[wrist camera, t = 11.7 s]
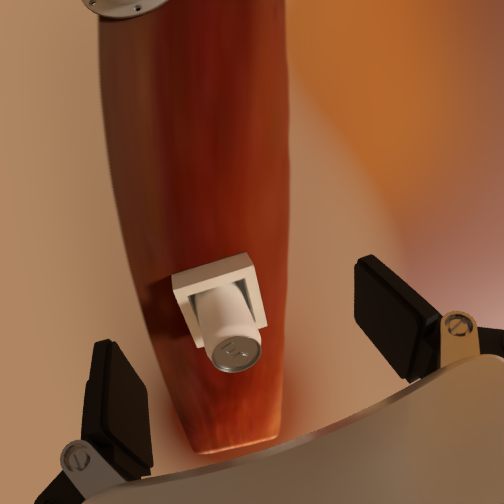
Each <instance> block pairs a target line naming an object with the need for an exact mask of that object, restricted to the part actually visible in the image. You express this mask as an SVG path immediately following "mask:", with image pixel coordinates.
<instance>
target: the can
mask: <svg viewBox="0 0 504 504" xmlns="http://www.w3.org/2000/svg"><path fill="white" fill-rule="evenodd" d="M195 304H196V309H197V314H198V319H199V324H200V329H201V333H202V338H203V342H204V346H205V350H206V353H207V355H208V357H209V358H210V360H211V361H212V363H213V365H214V366H215V367H216V368H217V369H219V370H221V371H224V372H230V373H233V372H240V371H243V370H246V369H248V368H250V367H251V366H253V365H254V364H255V363H256V362H257V361H258V360H259V358H260V356H261V352H262V349H261V337H260V334H259V331H258V329H257V327H256V324H255V322H254V320H253V318H252V315H251V313H250V311H249V308H248V306H247V304H246V302H245V299H244V297H243V295H242V293H241V290H240V288H239V286H238V285H237V284H236V283H235V282H231V283H228V284H224V285H221V286H218V287H215V288H212V289H208V290H205V291H202V292H199V293H196V294H195Z"/></svg>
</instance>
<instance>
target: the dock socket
mask: <svg viewBox="0 0 504 504" xmlns="http://www.w3.org/2000/svg"><path fill="white" fill-rule="evenodd" d="M171 276H172V287H173V292H174V295H175V297H176V299H177V302H178V304H179V307H180V309H181V311H182V314H183V316H184V318H185V321H186V323H187V325H188V328H189V330H190V332H191V334H192V337H193V339H194V341H195V343H196V346H197V348H200V347H203V346H204V342H203V338H202V333H201V329H200V324H199V319H198V314H197V309H196V304H195V294H196V293H199V292H202V291H205V290H208V289H212V288H215V287H218V286H221V285H224V284H228V283H231V282H235V283H236V284H237V285H238V286H239V288H240V290H241V293H242V295H243V297H244V299H245V302H246V304H247V306H248V308H249V311H250V313H251V315H252V318H253V320H254V322H255V324H256V327H257V329H260V328H263V327H266V326H267V322H266V317H265V313H264V308H263V304H262V300H261V295H260V291H259V287H258V282H257V278H256V273H255V269H254V265H253V263H252V261H251V260H250V258H249V256H248V254H247V253H246V252H244V253H240V254H237V255H234V256H231V257H227V258H224V259H221V260H218V261H215V262H211V263H208V264H205V265H202V266H198V267H195V268H192V269H189V270H186V271H182V272H179V273H176V274H173V275H171Z"/></svg>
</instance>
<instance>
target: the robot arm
mask: <svg viewBox="0 0 504 504" xmlns="http://www.w3.org/2000/svg"><path fill="white" fill-rule="evenodd" d="M82 1H83V3H84V4H85V6H86V7H87V8H88V9H90V10H91V11H92V12H94V13H96V14H98V15H100V16H103V17H108V18H116V19H123V18H132V17H136V16H140V15H143V14H146V13H148V12H151V11H153V10H155V9H157V8H158V7H160V6H162V5H163V4H164V3H166V2H167V1H168V0H82ZM93 3H96V4H95V5H93V6H92V4H93ZM138 8H139V9H140V11H136V9H138ZM354 281H355V282H354V288H355V289H354V317H355V320H356V323H357V324H358V325H359V326H360V328H361V329H362V330H363V331H364V333H365V334H366V335H367V336H368V338H369V339H370V340H371V341H372V342H373V344H374V345H375V346H376V348H377V349H378V350H379V351H380V353H381V354H382V355H383V356H384V357H385V359H386V360H387V361H388V363H389V364H390V365H391V366H392V368H393V369H394V370H395V371H396V372H397V374H398V375H399V376H400V378H402V379H404V378H405V379H406V380H407V381H408V382H409V383H412V382H414V381H415V380H417V379H419V378H420V379H421V380H419V381H417V382H415V383H414V384H412V385H410V386H408V387H406V388H405V389H403V390H401V391H399V392H397V393H395V394H393V395H392V396H390V397H388V398H386V399H384V400H382V401H380V402H379V403H376V404H374V405H372V406H370V407H368V408H366V409H364V410H362V411H360V412H358V413H356V414H353V415H351V416H349V417H347V418H345V419H343V420H340V421H338V422H336V423H333V424H331V425H329V426H326V427H324V428H322V429H319V430H317V431H314V432H312V433H309V434H307V435H304V436H301V437H299V438H296V439H293V440H291V441H288V442H285V443H282V444H279V445H277V446H274V447H271V448H268V449H265V450H261V451H258V452H255V453H252V454H249V455H245V456H242V457H238V458H235V459H232V460H228V461H224V462H220V463H217V464H212V465H208V466H204V467H200V468H195V469H191V470H186V471H182V472H177V473H173V474H167V475H162V476H156V477H150V478H145V479H141V477H142V476H149V475H151V471H150V468H152V467H153V455H152V445H151V435H150V423H149V411H148V396H147V395H148V394H147V389H146V387H145V385H144V383H143V382H142V380H141V379H140V378H139V376H138V375H137V373H136V372H135V370H134V369H133V367H132V366H131V364H130V363H129V361H128V360H127V358H126V357H125V355H124V354H123V352H122V351H121V349H120V347H119V346H118V344H117V343H116V342H115V341H114V342H112V341H111V340H110V339H106V340H102V341H99V342H96V343H95V344H94V348H93V355H92V362H91V369H90V376H89V380H88V381H87V383H86V389H85V396H84V406H83V416H82V428H81V440H75V441H72V442H70V443H69V444H67V445H66V446H65V448H64V449H63V451H62V453H61V457H60V463H61V467H62V469H63V470H62V471H61V473H60V474H59V475H58V476H57V477H56V478H55V479H54V480H53V481H52V482H51V483H50V484H49V486H48V487H47V488H46V489H45V490H44V491H43V492H42V493H41V494H40V495H39V496H38V497H37V499H36V500H35V502H34V504H504V330H501V329H491V328H483V327H477V325H476V322H475V320H474V319H473V317H471V316H470V315H469V314H467V313H464V312H460V311H452V312H449V313H447V314H445V315H444V316H442V315H441V314H440V313H439V312H438V311H437V310H436V309H435V308H434V307H433V306H432V305H430V304H429V303H428V302H427V301H426V300H425V299H424V298H423V297H421V296H420V295H419V294H418V293H417V292H416V291H415V290H414V289H413V288H411V287H410V286H409V285H408V284H407V283H406V282H405V281H403V280H402V279H401V278H400V277H399V276H398V275H396V274H395V273H394V272H393V271H392V270H391V269H389V268H388V267H387V266H385V264H383V263H382V262H381V261H380V260H379V259H377V258H376V257H375V256H374V255H371V254H370V255H368V256H365V257H362V258H360V259H358V261H357V264H355V266H354Z"/></svg>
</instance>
